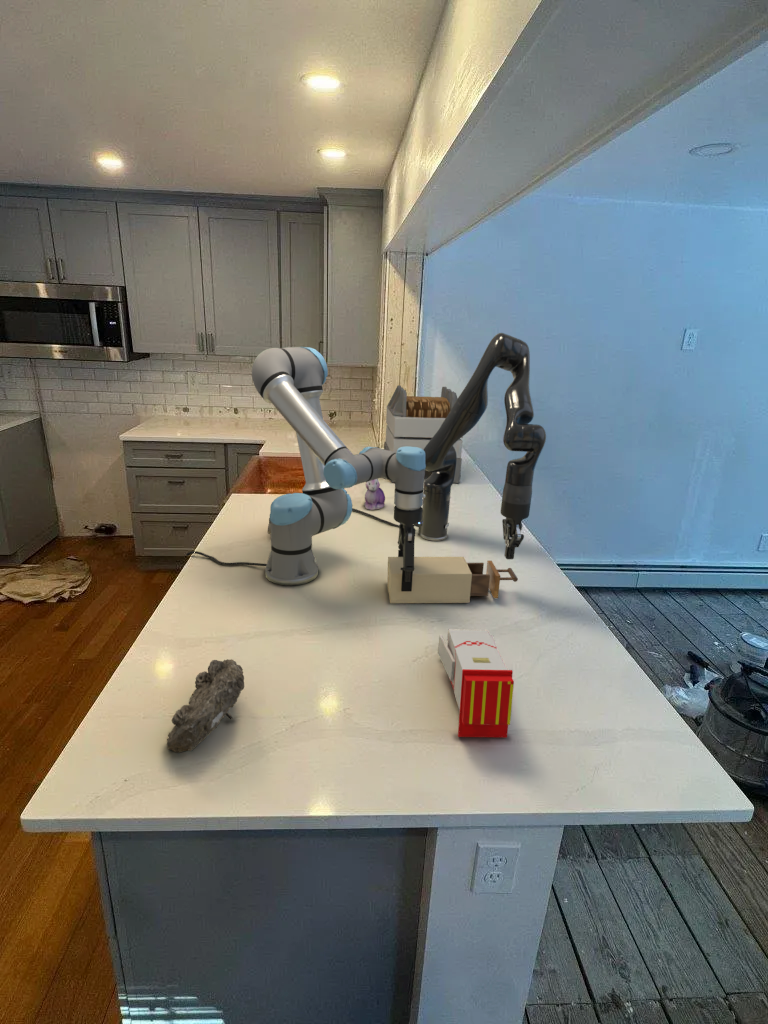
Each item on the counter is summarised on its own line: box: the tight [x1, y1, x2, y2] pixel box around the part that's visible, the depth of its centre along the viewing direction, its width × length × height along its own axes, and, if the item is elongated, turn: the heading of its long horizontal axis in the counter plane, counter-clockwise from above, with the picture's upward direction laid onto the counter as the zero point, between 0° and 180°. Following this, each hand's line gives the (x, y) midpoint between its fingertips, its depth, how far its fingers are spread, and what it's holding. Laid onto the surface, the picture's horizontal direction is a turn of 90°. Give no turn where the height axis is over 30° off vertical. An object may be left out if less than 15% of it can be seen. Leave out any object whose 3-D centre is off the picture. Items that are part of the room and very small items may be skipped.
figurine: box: [363, 478, 386, 511], centre depth 223 cm, size 9×10×15 cm
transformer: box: [383, 384, 464, 484], centre depth 268 cm, size 34×33×41 cm
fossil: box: [166, 658, 245, 754], centre depth 106 cm, size 22×10×15 cm
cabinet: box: [386, 556, 472, 604], centre depth 157 cm, size 22×11×9 cm, turn 94°
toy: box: [437, 628, 515, 738], centre depth 117 cm, size 12×13×30 cm
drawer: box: [467, 560, 519, 599], centre depth 158 cm, size 26×10×7 cm, turn 94°
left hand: (404, 580), depth 157 cm, fingers closed on cabinet, 11 cm apart
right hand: (508, 558), depth 156 cm, fingers closed
